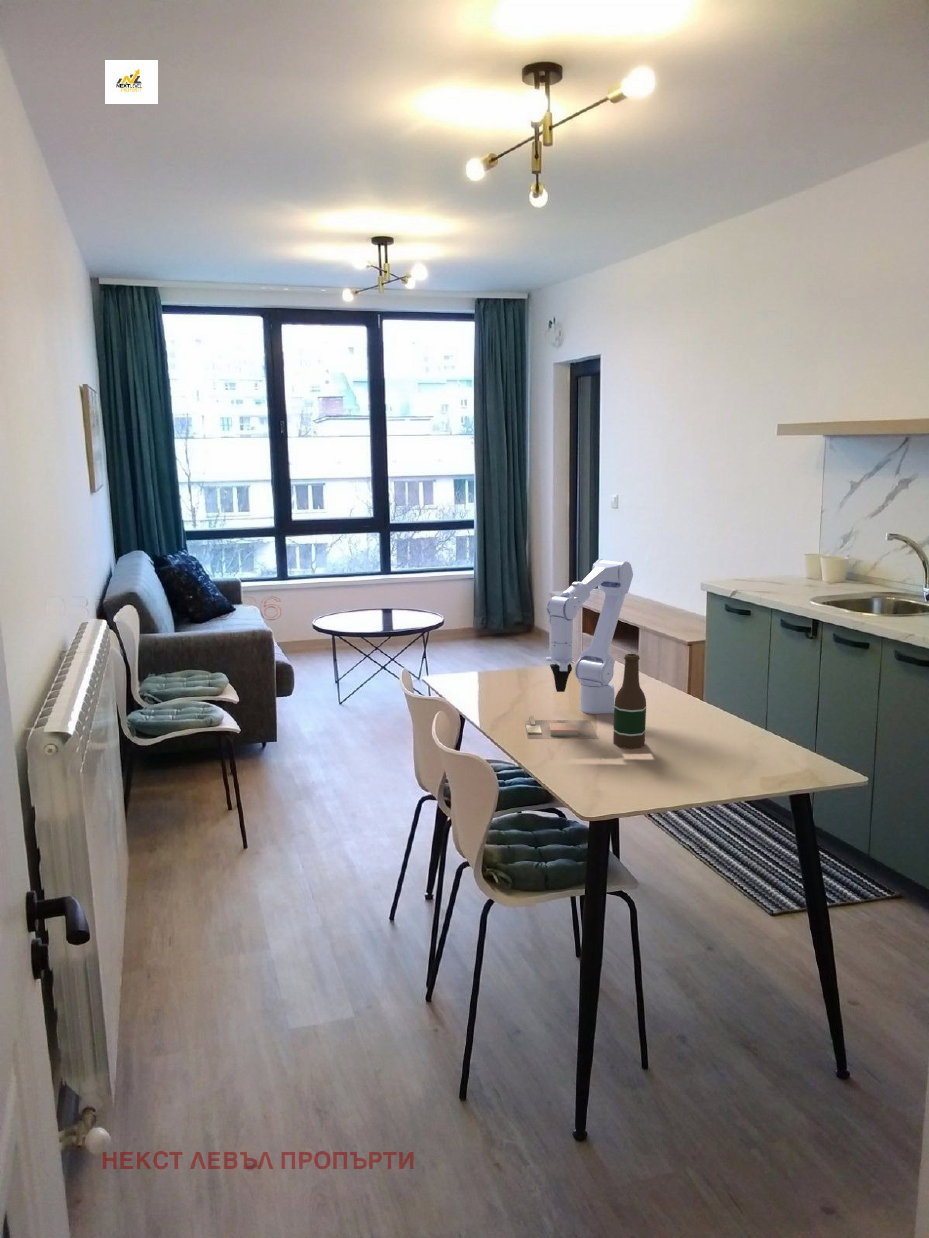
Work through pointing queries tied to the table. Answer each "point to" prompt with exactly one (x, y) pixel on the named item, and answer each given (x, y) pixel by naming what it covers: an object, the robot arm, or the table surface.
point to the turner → (533, 727)
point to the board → (584, 732)
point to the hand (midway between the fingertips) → (560, 691)
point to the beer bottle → (630, 708)
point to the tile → (563, 729)
